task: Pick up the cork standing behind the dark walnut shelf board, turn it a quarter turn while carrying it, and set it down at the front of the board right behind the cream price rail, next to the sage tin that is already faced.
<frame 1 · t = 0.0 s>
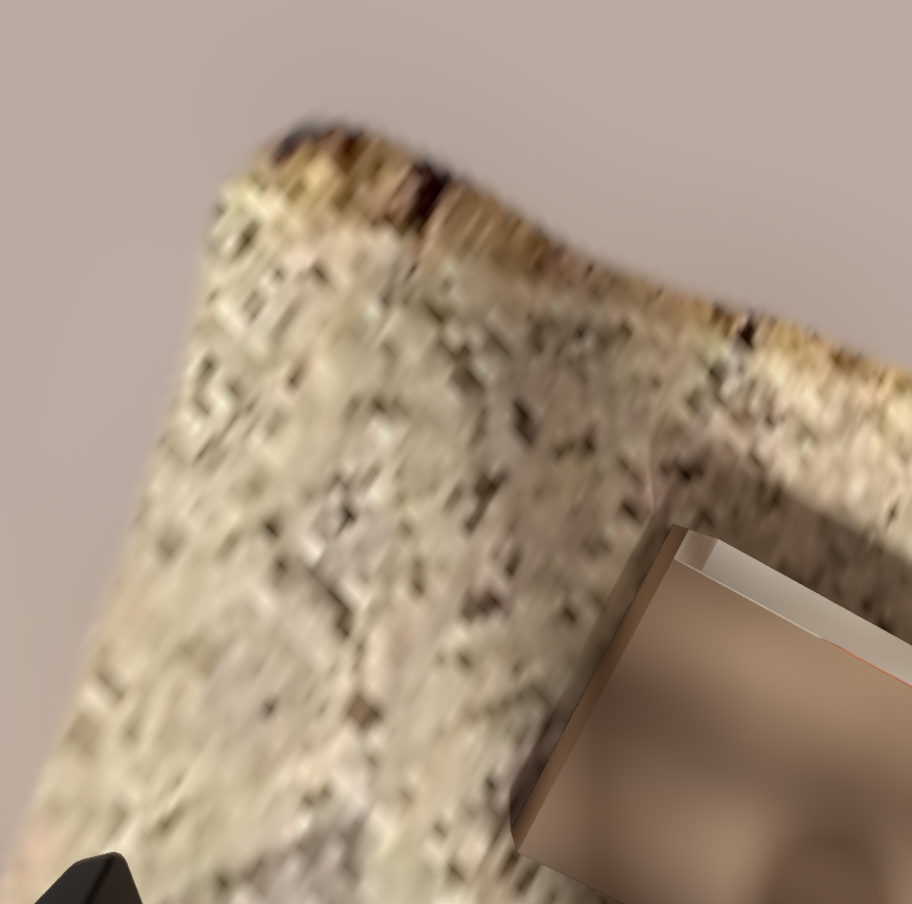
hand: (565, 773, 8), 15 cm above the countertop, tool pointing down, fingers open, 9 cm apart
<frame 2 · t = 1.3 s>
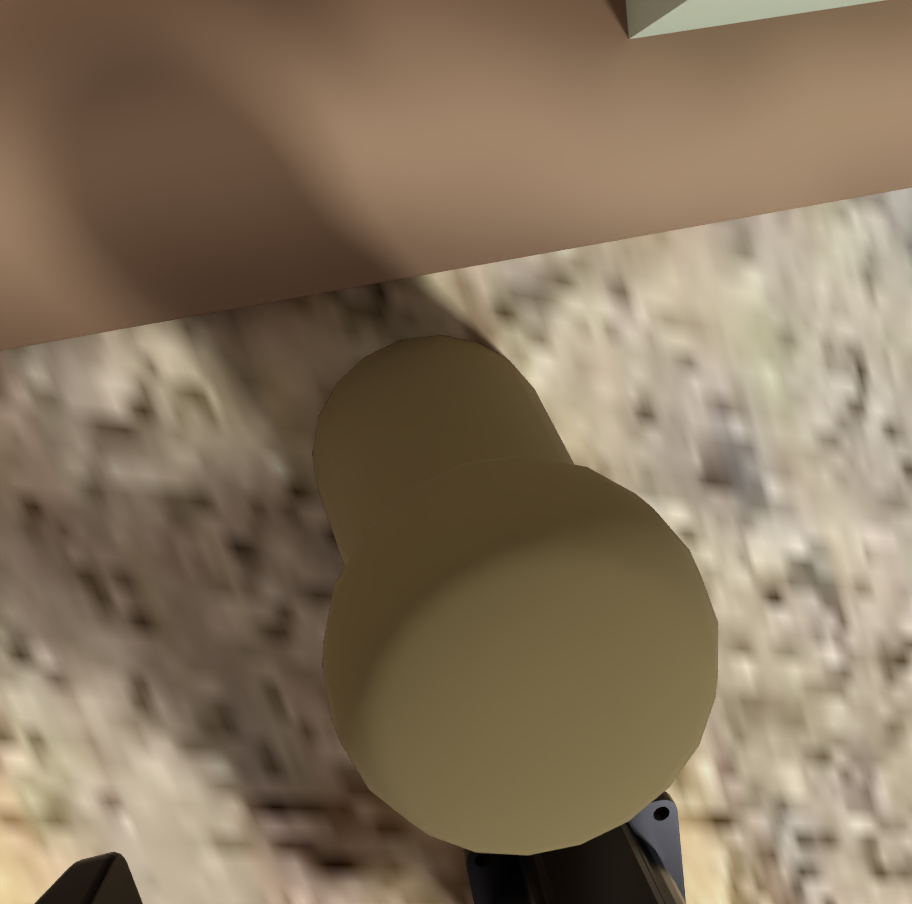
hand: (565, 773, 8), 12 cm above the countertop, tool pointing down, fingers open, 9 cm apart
cork: (433, 453, 19), on the countertop
shelf board: (354, 12, 16), on the countertop
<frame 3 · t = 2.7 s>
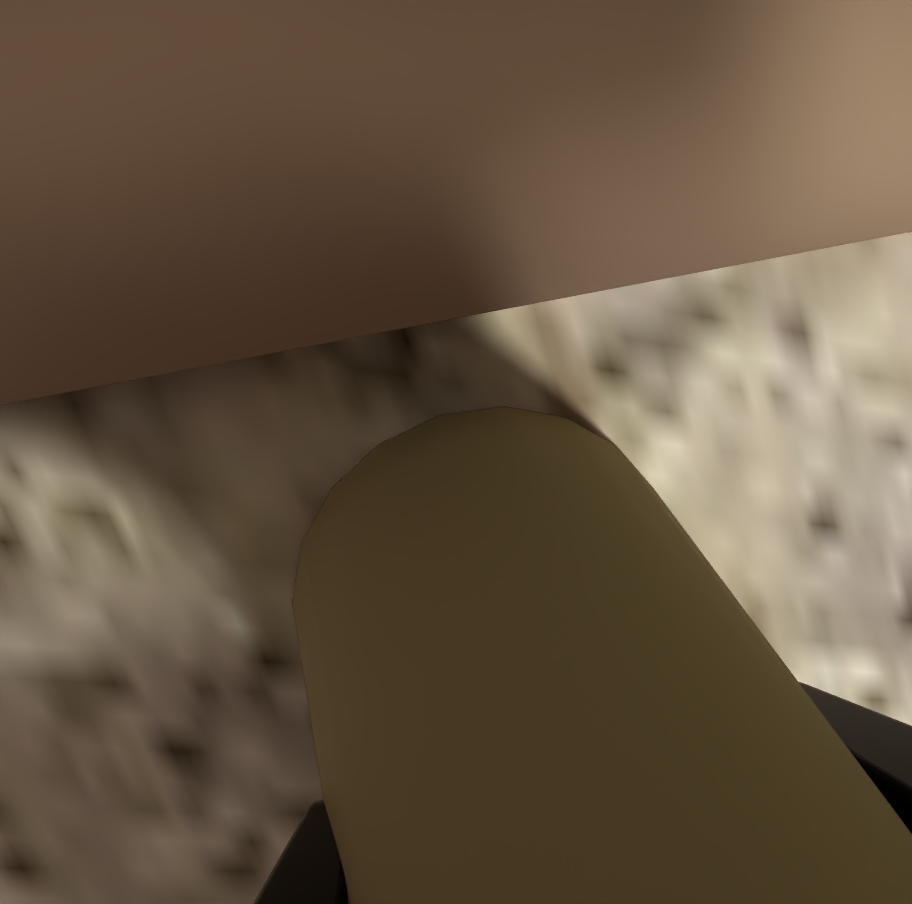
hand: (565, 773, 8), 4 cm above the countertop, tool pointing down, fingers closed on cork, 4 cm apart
cork: (488, 591, 12), on the countertop, touching gripper
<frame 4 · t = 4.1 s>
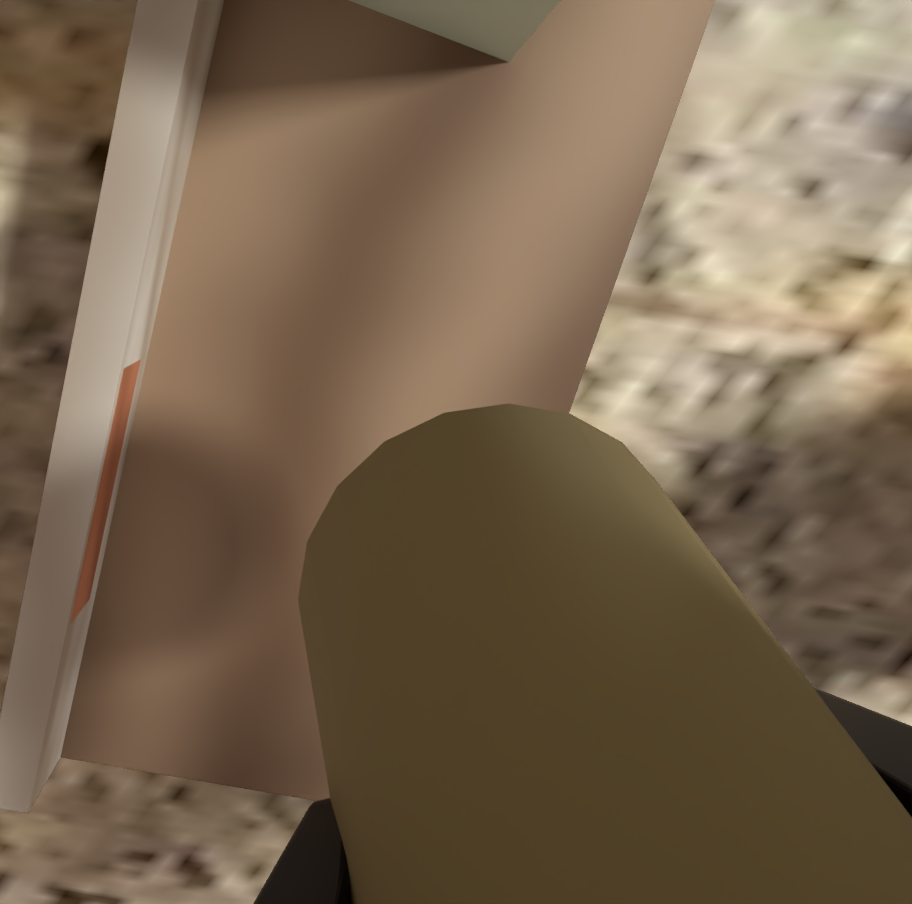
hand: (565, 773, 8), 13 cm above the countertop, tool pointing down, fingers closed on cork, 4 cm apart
cork: (493, 588, 12), point 8 cm above the countertop, touching gripper
shelf board: (372, 283, 18), on the countertop
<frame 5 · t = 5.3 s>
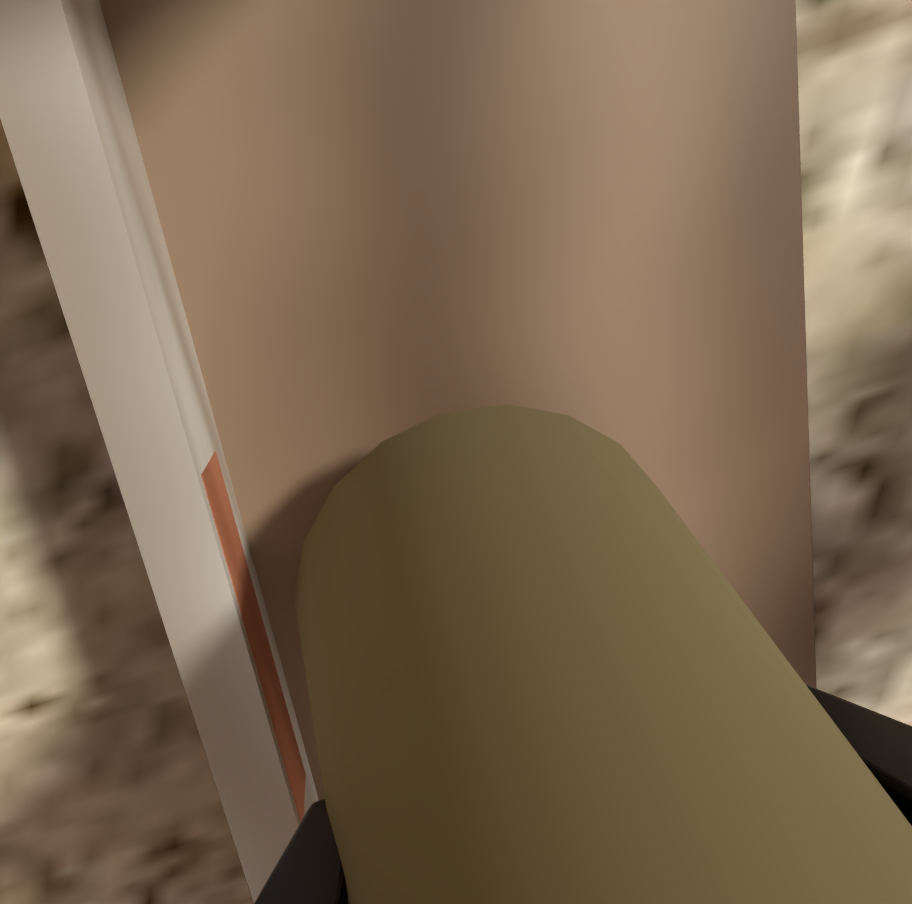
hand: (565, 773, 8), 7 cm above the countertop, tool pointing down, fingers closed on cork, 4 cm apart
cork: (491, 589, 12), point 3 cm above the countertop, touching gripper
shelf board: (453, 199, 13), on the countertop
when the fingers open (6 cm above the countertop, at t = 5.9 s): cork stays where it is, resting on shelf board.
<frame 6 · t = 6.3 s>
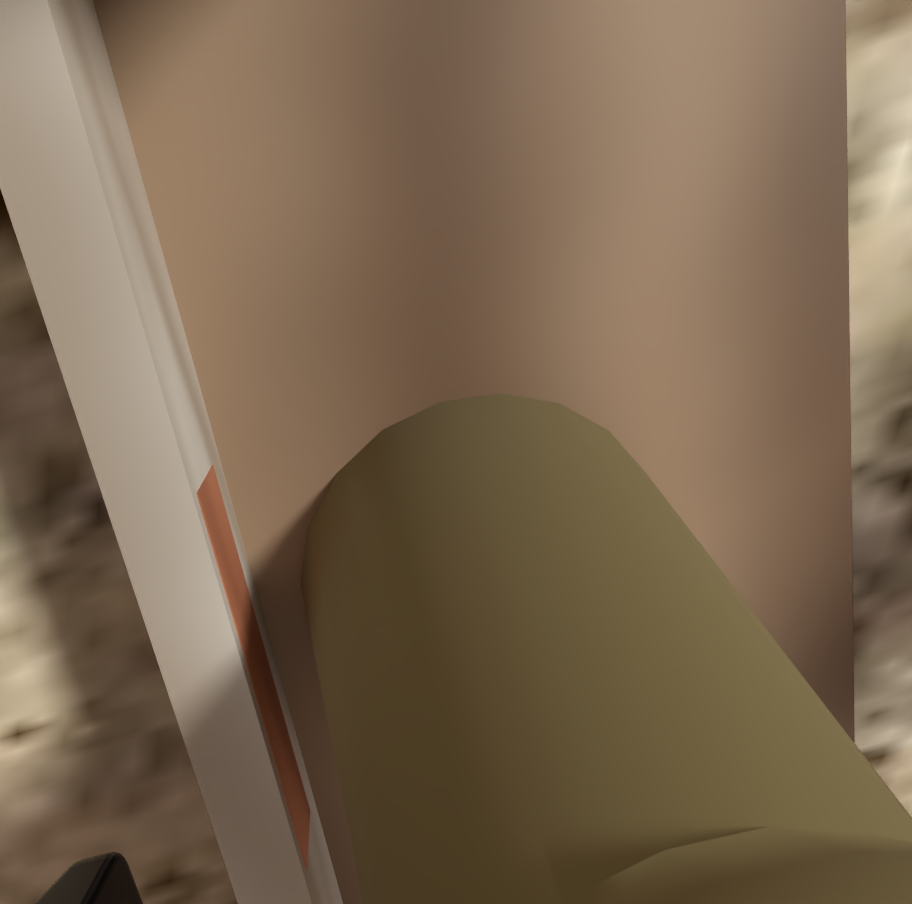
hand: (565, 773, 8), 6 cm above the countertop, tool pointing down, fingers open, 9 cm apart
cork: (487, 570, 12), point 1 cm above the countertop, touching shelf board
shelf board: (470, 192, 12), on the countertop
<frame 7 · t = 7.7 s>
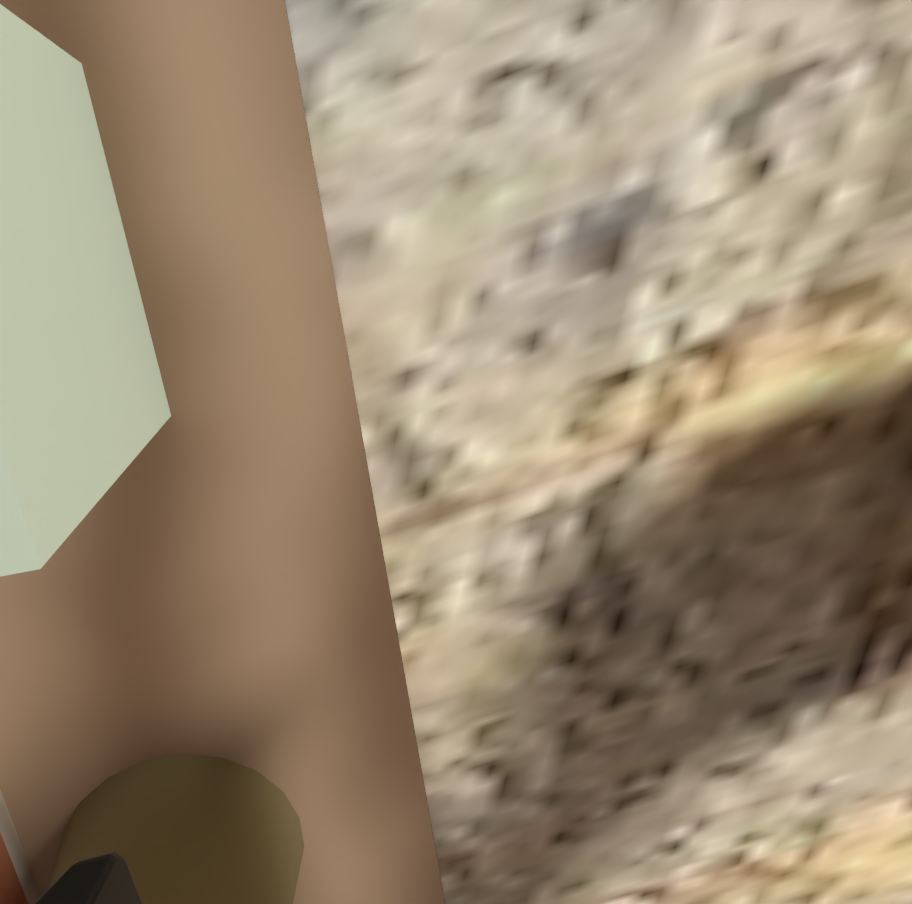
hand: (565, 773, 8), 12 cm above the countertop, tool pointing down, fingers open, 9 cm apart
sage tin: (0, 269, 15), point 1 cm above the countertop, touching shelf board
cork: (186, 848, 20), point 1 cm above the countertop, touching shelf board
shelf board: (172, 624, 19), on the countertop
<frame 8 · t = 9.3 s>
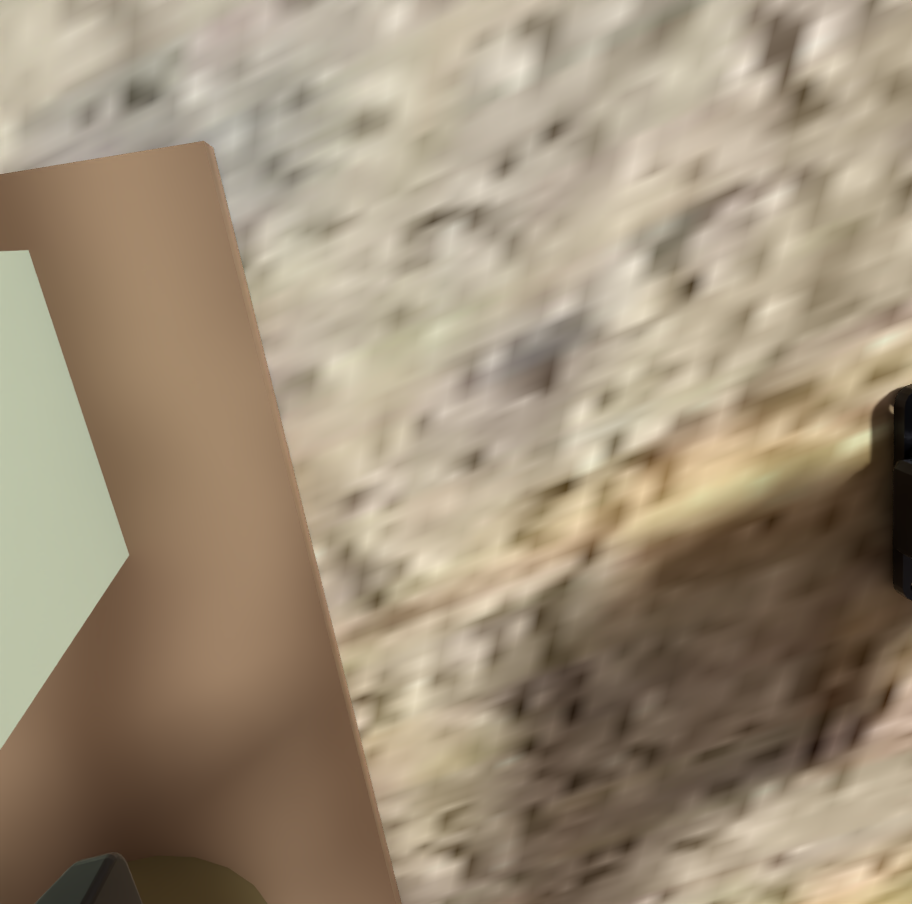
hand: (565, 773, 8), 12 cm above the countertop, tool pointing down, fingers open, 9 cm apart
shelf board: (145, 732, 20), on the countertop
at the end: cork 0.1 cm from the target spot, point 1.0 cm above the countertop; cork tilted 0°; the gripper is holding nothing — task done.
